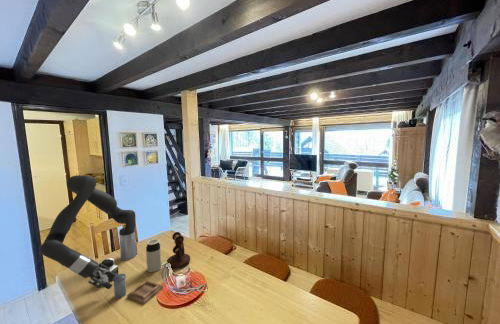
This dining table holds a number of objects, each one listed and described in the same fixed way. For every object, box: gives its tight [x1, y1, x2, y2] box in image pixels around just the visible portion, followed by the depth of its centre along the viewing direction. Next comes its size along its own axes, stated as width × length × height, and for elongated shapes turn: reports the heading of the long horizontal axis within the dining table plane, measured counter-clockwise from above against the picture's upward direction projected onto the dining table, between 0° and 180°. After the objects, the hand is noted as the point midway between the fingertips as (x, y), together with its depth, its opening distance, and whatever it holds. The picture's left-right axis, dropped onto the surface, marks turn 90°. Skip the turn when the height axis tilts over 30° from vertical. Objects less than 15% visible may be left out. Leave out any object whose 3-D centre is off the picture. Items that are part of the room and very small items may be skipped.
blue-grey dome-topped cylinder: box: [112, 273, 127, 299], centre depth 109 cm, size 6×6×10 cm
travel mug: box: [145, 238, 162, 273], centre depth 131 cm, size 8×8×18 cm
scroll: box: [166, 231, 191, 269], centre depth 138 cm, size 15×15×20 cm
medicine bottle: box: [100, 257, 119, 284], centre depth 121 cm, size 7×7×12 cm
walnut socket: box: [126, 279, 164, 305], centre depth 111 cm, size 12×12×3 cm
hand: (112, 282), depth 107 cm, fingers open, 8 cm apart
